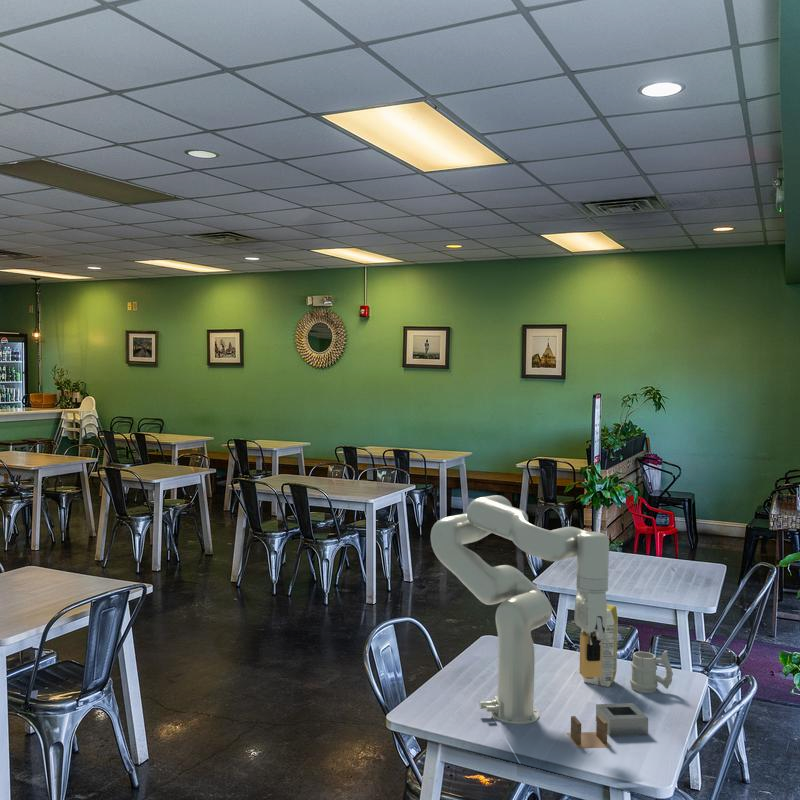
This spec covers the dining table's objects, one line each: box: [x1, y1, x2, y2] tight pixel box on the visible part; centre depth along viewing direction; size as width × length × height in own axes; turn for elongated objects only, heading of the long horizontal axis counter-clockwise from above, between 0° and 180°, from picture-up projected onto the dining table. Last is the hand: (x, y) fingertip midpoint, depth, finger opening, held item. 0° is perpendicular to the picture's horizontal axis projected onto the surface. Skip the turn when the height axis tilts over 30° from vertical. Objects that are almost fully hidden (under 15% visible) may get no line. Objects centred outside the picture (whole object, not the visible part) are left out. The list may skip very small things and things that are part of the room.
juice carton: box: [582, 604, 619, 688], centre depth 222 cm, size 9×8×24 cm
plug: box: [579, 632, 602, 678], centre depth 182 cm, size 4×3×10 cm
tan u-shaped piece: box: [566, 715, 612, 749], centre depth 182 cm, size 8×8×6 cm
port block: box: [595, 702, 649, 737], centre depth 189 cm, size 10×9×5 cm
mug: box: [629, 650, 674, 694], centre depth 216 cm, size 8×12×12 cm, turn 67°
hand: (590, 657), depth 182 cm, fingers closed on plug, 3 cm apart
